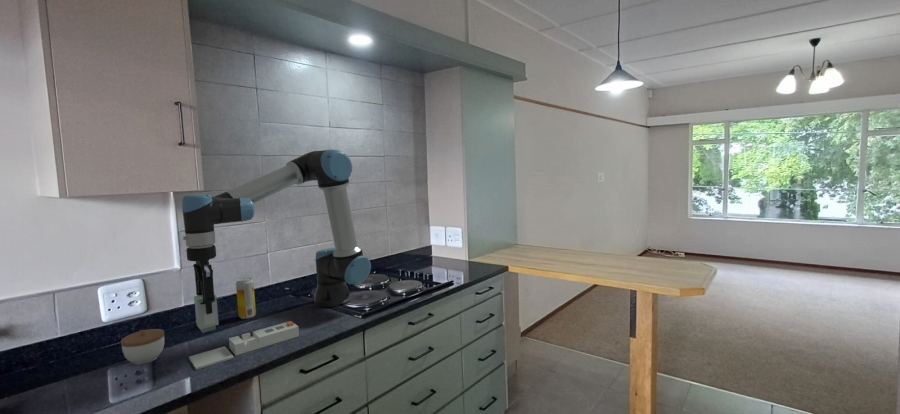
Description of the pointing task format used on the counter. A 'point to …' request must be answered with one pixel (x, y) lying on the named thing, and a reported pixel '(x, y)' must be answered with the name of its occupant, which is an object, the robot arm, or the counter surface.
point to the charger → (200, 314)
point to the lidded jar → (143, 346)
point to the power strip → (263, 337)
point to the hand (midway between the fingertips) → (207, 321)
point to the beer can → (245, 298)
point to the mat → (210, 357)
